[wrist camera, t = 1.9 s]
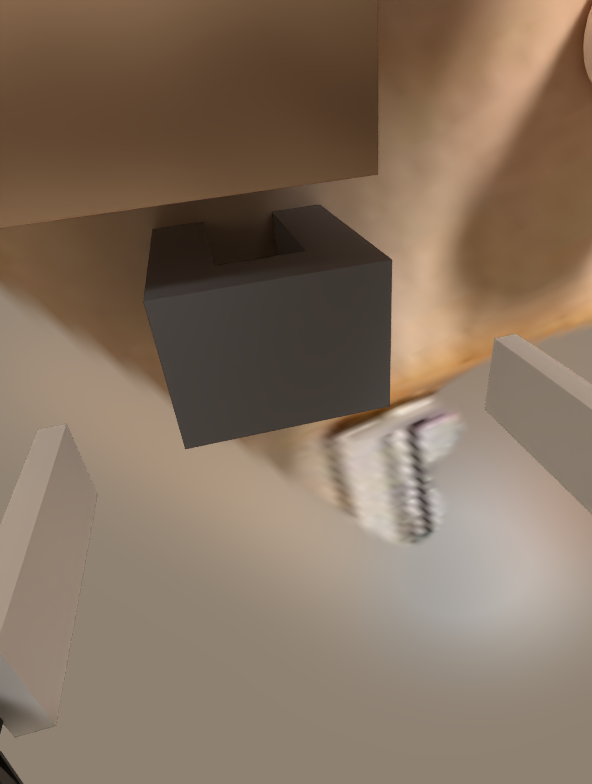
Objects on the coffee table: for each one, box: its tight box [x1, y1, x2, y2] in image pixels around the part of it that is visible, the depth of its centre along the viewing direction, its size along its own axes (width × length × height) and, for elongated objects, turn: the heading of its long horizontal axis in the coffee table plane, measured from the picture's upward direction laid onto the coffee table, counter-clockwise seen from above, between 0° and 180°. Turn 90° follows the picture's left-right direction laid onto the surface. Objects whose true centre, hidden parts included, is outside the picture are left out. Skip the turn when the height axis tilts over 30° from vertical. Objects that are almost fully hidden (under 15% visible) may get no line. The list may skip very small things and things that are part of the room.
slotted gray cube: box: [143, 205, 392, 449], centre depth 21 cm, size 6×8×9 cm
